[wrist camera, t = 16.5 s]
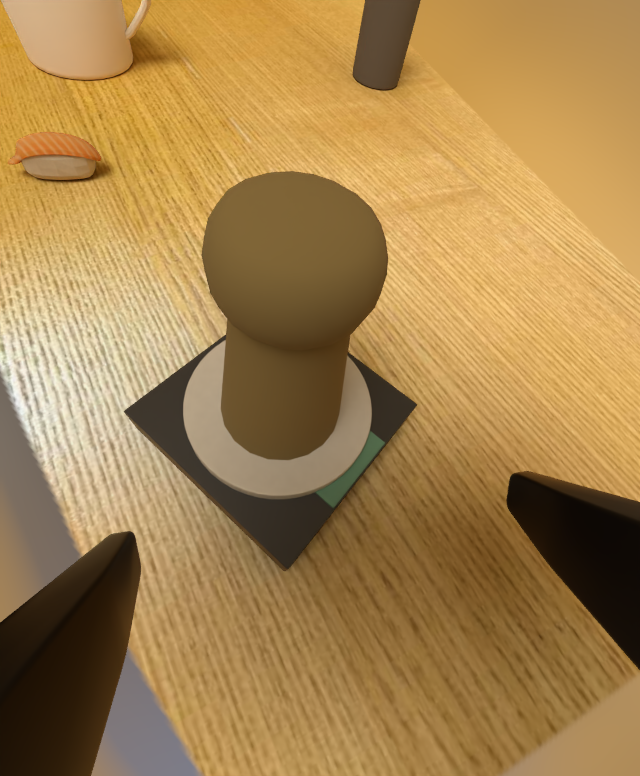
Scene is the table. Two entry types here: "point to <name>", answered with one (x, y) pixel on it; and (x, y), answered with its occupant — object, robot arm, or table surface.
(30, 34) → the mug
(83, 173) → the sushi
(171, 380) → the scale
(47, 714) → the robot arm
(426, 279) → the table surface
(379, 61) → the bottle
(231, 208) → the brown chess pawn
